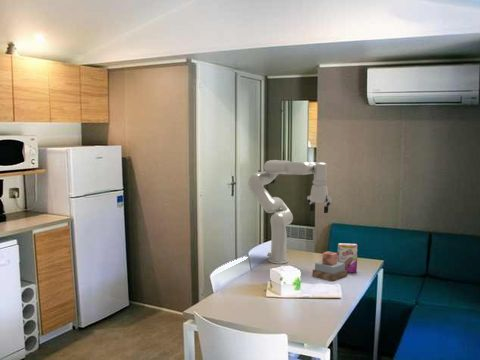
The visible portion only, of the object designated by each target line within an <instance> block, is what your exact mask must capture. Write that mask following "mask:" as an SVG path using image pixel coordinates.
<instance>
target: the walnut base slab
mask: <svg viewBox="0 0 480 360" xmlns="http://www.w3.org/2000/svg"><path fill="white" fill-rule="evenodd" d="M311 276H312V277H315V278H319V279H322V280H327V281H330V282H335V281H338V280H341V279H343V278H346V277H348V272H347V270H345V271H342V272H339V273H336V274H333V275H332V274H328V273H324V272H320V271H316V270H315V268H314V269H312V275H311Z"/></svg>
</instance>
